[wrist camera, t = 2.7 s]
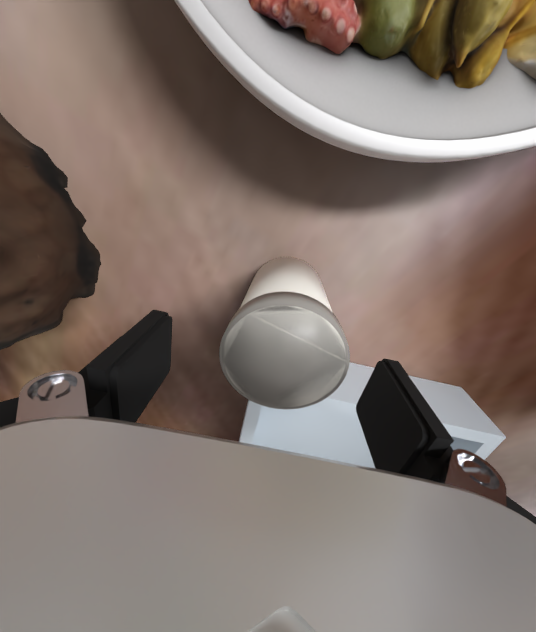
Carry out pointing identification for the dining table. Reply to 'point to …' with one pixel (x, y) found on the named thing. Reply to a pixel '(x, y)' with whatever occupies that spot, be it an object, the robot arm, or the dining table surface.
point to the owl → (38, 241)
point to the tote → (345, 429)
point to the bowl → (385, 71)
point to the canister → (285, 339)
